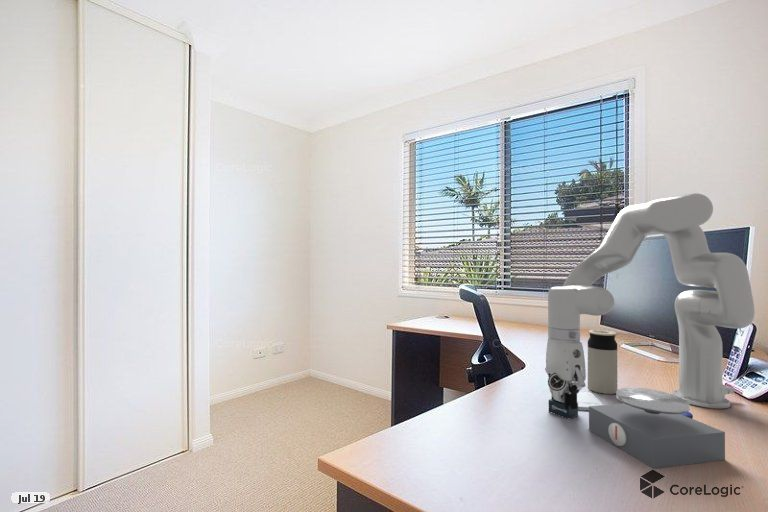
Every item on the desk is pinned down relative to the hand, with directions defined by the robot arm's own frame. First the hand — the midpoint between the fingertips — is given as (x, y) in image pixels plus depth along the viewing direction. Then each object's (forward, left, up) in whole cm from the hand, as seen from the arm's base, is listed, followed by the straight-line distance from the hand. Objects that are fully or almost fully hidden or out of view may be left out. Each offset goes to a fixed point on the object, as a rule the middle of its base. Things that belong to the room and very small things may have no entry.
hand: (563, 404), depth 99 cm
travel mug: (-24, -14, -3) cm, 28 cm away
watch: (0, 0, -3) cm, 3 cm away
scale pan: (-8, +18, +4) cm, 20 cm away
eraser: (-24, +6, -3) cm, 26 cm away
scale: (-8, +18, -2) cm, 20 cm away
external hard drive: (-11, -6, -3) cm, 13 cm away
